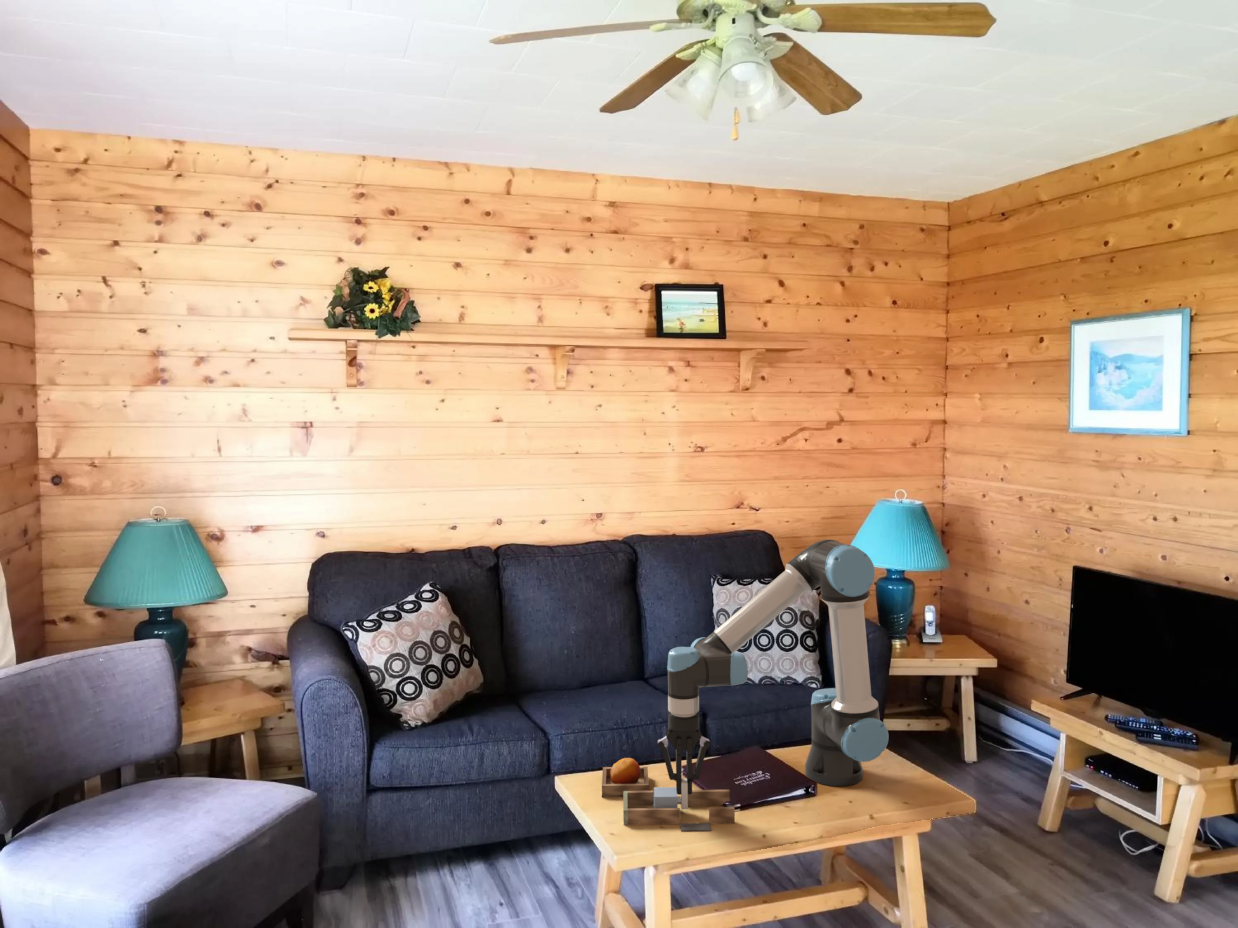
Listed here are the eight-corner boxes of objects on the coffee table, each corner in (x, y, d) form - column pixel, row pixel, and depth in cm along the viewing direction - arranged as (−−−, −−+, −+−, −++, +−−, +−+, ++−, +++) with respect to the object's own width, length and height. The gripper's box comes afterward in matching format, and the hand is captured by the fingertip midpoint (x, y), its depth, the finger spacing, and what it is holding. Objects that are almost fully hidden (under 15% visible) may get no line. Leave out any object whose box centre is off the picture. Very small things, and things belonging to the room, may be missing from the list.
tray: (647, 777, 244) (647, 766, 244) (648, 796, 232) (648, 784, 232) (603, 777, 244) (602, 766, 244) (602, 796, 232) (601, 785, 232)
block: (676, 808, 225) (676, 786, 225) (677, 818, 219) (677, 796, 219) (654, 808, 225) (653, 787, 225) (655, 818, 219) (654, 796, 219)
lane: (727, 796, 231) (727, 783, 231) (736, 830, 213) (736, 815, 213) (623, 797, 232) (623, 784, 231) (623, 831, 213) (623, 817, 213)
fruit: (645, 786, 233) (628, 759, 233) (619, 800, 235) (603, 773, 235) (649, 774, 241) (634, 748, 241) (625, 787, 242) (609, 761, 243)
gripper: (708, 706, 224) (709, 799, 226) (656, 707, 224) (657, 800, 226) (711, 716, 217) (712, 813, 218) (657, 717, 217) (658, 813, 218)
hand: (684, 806), depth 222 cm, fingers closed
